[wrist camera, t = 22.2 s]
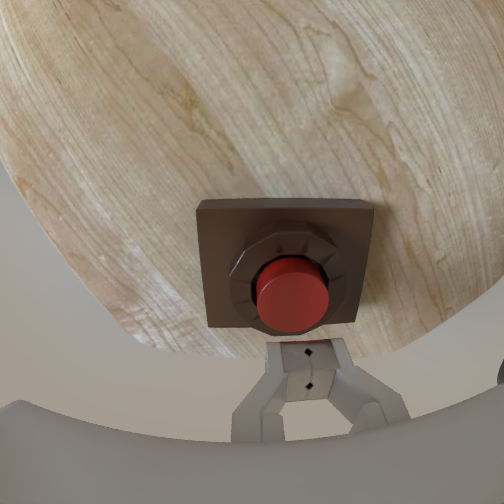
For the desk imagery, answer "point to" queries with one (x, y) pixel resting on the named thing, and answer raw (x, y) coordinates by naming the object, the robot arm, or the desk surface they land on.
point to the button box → (280, 253)
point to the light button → (291, 295)
